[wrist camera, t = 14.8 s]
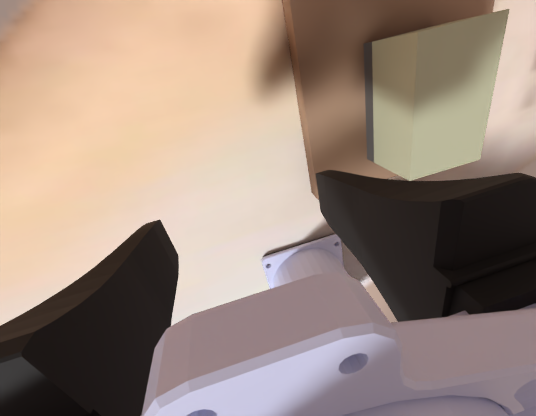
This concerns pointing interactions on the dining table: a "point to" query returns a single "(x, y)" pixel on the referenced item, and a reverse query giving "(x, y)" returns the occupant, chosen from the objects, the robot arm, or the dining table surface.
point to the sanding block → (431, 94)
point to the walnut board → (349, 69)
